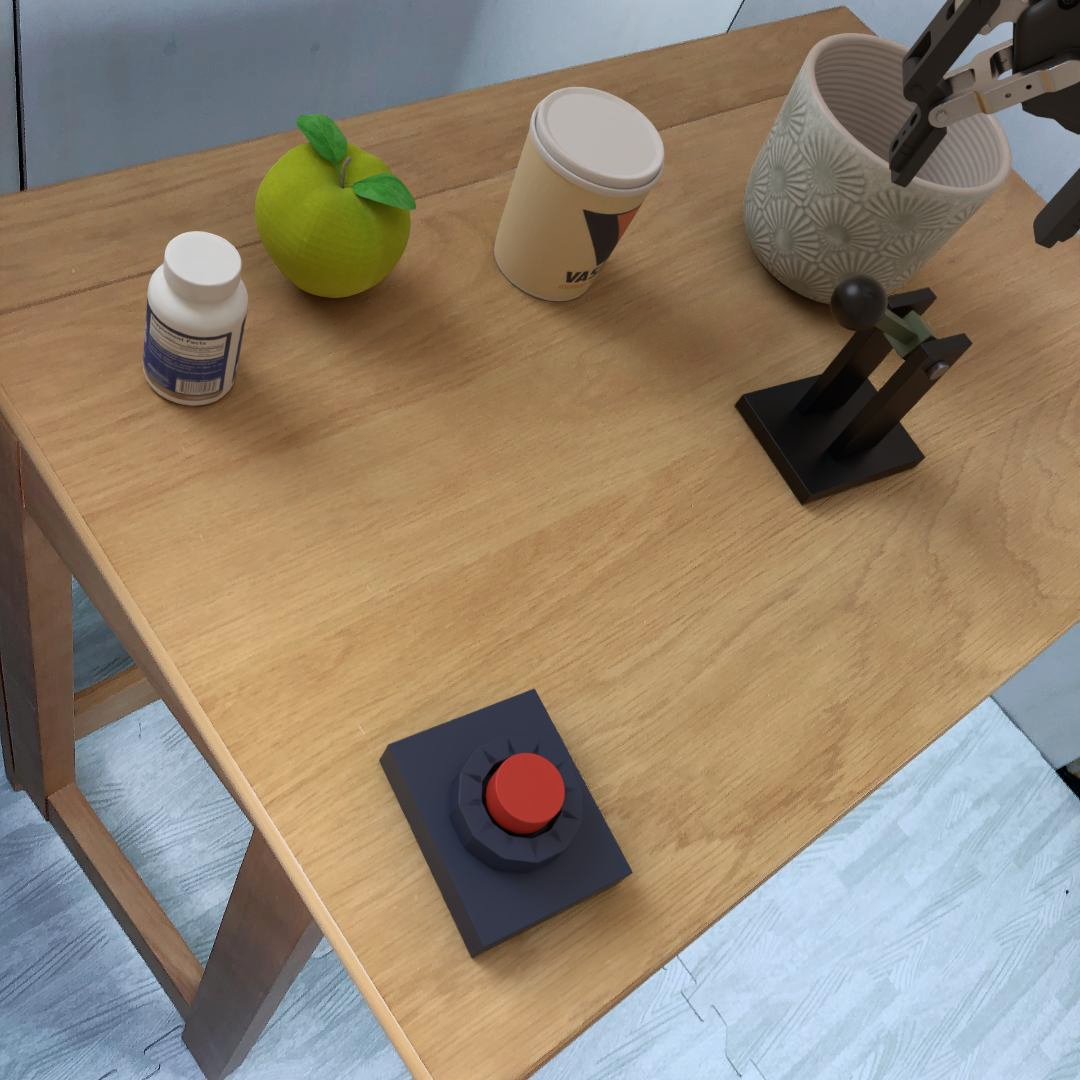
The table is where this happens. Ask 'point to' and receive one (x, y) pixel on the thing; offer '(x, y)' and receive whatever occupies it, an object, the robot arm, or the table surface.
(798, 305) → the table surface
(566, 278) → the coffee cup
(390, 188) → the fruit
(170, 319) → the pill bottle
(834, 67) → the planter
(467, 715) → the button block
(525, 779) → the button
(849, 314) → the lever
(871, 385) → the bracket
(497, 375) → the table surface
